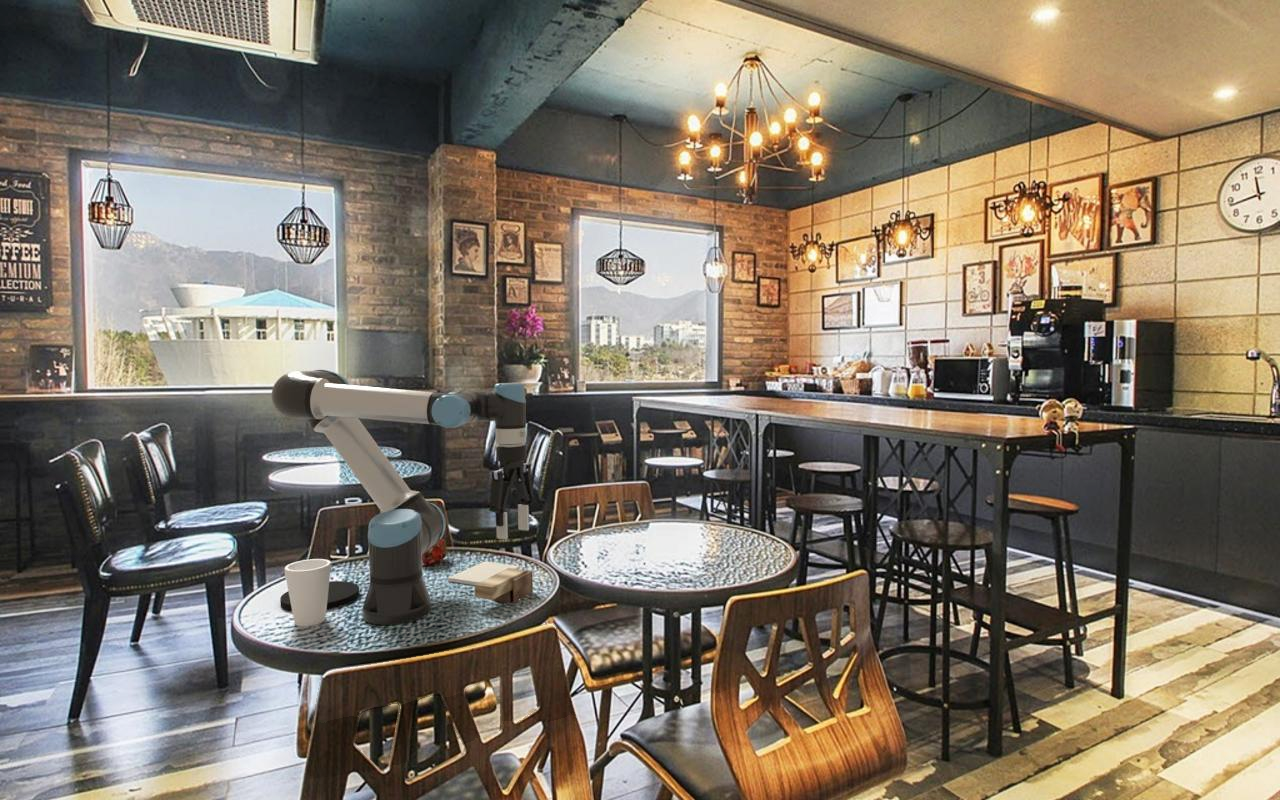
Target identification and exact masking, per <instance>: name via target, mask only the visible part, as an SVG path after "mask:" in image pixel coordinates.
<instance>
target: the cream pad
mask: <svg viewBox="0 0 1280 800" xmlns="http://www.w3.org/2000/svg"><path fill="white" fill-rule="evenodd" d="M520 567H521V566H519V565H512V564H505V563H500V562H499V563H498V562H491V561H483V562H480V563H477V564H476V565H473V566H471V567H469V568H467V569H466V570H461V571H460V572H458V573H455V574H453V575H451V576H448V577H447V581H448V582H449V583H457V584H464V585H469V586H470V585H471V586H475V584H477V583H479V582H482V581H484V580H486V579H488V578H490V577H491V576H493V575H495V574H498V573H500V572H502V571H504V570H506V569H508V568H512V569H520ZM520 570H521V569H520Z"/></svg>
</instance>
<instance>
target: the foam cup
mask: <svg viewBox="0 0 1280 800" xmlns="http://www.w3.org/2000/svg"><path fill="white" fill-rule="evenodd" d="M331 573H332V562H331V560H329V559H324V558H312V559H302V560H299V561H294V562H292V563H289V564H287V565H286V566H285V567H284V579H285V580H286V585H287V592H289V597H290V602H291V607H292V612H291V613H292V616H293V617H292V618H293V621H294V625H295V626H298V627H309V626H315V625H318V624H320V623H323V622H325V620H326V616H327V610H326V609H327V599H328V590H329V581H330V580H331V579H330V577H331Z"/></svg>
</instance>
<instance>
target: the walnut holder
mask: <svg viewBox="0 0 1280 800" xmlns="http://www.w3.org/2000/svg"><path fill="white" fill-rule="evenodd" d="M508 569H509V568H508ZM495 575H496V574H495ZM493 576H494V575H493ZM491 577H492V576H491ZM533 586H534V585H533V571H531V570H526V574H524V575H522V576H520V577H518V578H516V579H514V580H513V589H512V590H513V591H512V601H513V603H517V602H519V601H520V600H519V599H521V598H522V599H524V598H525V597H524V596H526V595H528V594H529V595H531V594H533V593H532V592H533V591H534V588H533ZM530 593H531V594H530ZM529 595H528V596H529ZM523 597H524V598H523ZM526 597H527V596H526ZM522 599H521V600H522ZM518 600H519V601H518ZM492 601H494V602H501V603H506V602H508V603H507V604H510V603H511V590H510V591H508V592H506V593H505V594H503V595H501V596H499V597H497V598H495V599H493V600H492ZM516 601H517V602H516Z"/></svg>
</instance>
